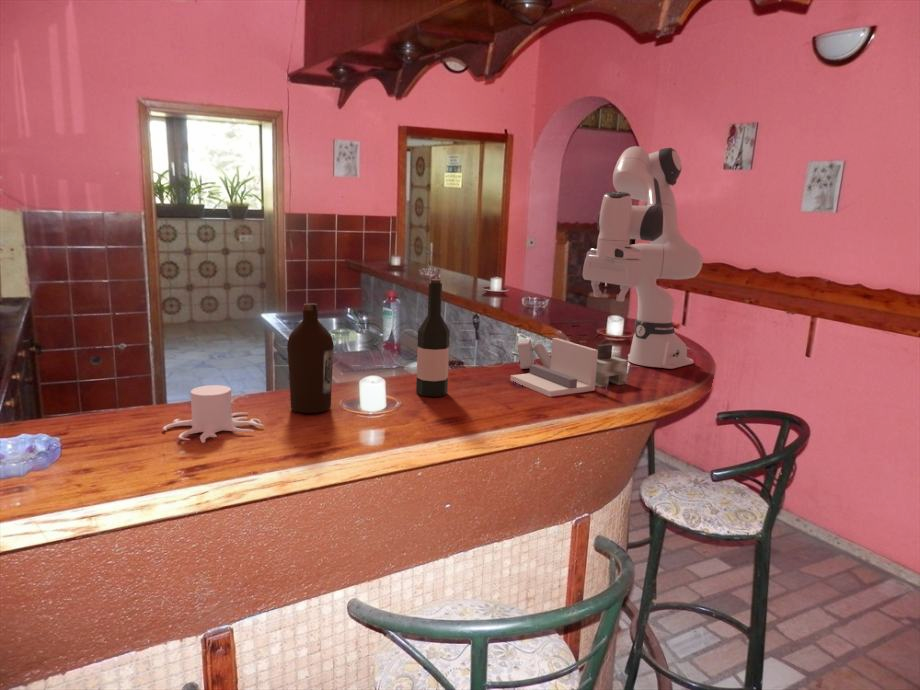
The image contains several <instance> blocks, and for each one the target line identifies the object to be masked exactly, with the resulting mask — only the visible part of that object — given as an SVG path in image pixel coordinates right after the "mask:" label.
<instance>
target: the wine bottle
mask: <svg viewBox="0 0 920 690" xmlns="http://www.w3.org/2000/svg"><path fill="white" fill-rule="evenodd" d="M442 293H443V282H441V279H438V278H431V279H430V282H428V295H427V296H428V299H427V301H428V304H427V306H428V307H427V316H426V317H425V319H424V320H423V322H422V324H421V325H420V327H419V328H418V330H417V353H416V354H417V356H416V357H417V358H416V384H415V385H416V386H415V387H416V389H415V390H416V392H415V393H416V394H418V395H420V396H423V397H429V398H430V397H431V398H435V397H442V396H445V395H446V394H447V393H448V386H449V385H448V384H449V383H448V382H449V363H450V361H449V358H450V357H449V356H450V355H449V354H450V329H449V327H448V326H447V324H446V321H445V319H444V318H443V316H442V298H443V297H442V296H443V294H442Z"/></svg>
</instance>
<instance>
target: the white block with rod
mask: <svg viewBox="0 0 920 690" xmlns="http://www.w3.org/2000/svg"><path fill="white" fill-rule="evenodd" d="M517 352H518V358H519V365H520V366H519V367H520V369H521V370H524V369H530V365H535V360H534V352H535V353H536V355H537V357H538V358H539V360H540V362H541V363H542V366H543V367H546V368H548V369H550V365H551V355H550V354H549V353H548V351H547V349H546V348H545V346H544V345H543V344H542V343H541V342H536V343H535V344H534V345H533V344H532V339H531V338H527V339H520V340H519V341H518V342H517Z"/></svg>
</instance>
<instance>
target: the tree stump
mask: <svg viewBox="0 0 920 690" xmlns="http://www.w3.org/2000/svg"><path fill="white" fill-rule="evenodd" d="M242 397H245V393H242V394H232V389H231V387H230V386H226V385H221V384H220V385H219V384H217V385H215V384H214V385H213V384H210V385H207V384H206V385H202V386H197V387H194V388H192V389H191V390H190V405H191V419H185V420H181V418H176V419H174V420H173V421H172V423H169V424H166V425H164V426H163V427H162V428H161V429H162V430H163V431H168V430H167V429H169V428H174V427H182V426H191V428H189V429H187V430H185V431H183V432H181V433H180V434H179V435H178V439H180V440H184V441H185V440H187V441H191V439H190V438H187V437H185V436H187V435H191V434H197V433H202V434H200V436H199V439H200V442H201V443H202V444H204V443H206V439H207V438H217V434H216V433H218V432H221V431H226V432H228V431H229V432H233V433H234V432H235V433H236V432H239V433H241V432H242V433H243V432H244V433H252V432H254V433H255V430H253V429H246V428H240V426H245V425H248V426H255V427H265V425H264V424H262V422H261V420H260V419H259V418H251V419H249V418H248V417H246V416H241V417H240V416H239V415H249V414H250V413H249V412H241V411H240V412H232V411H233V410H232V408H233V407H232V404H233V405H236V402H234V401H235V400H237V399H240V398H242ZM236 416H238V417H236ZM247 419H249V420H247ZM256 421H257V422H256ZM238 427H239V428H238Z"/></svg>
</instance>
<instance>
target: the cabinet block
mask: <svg viewBox="0 0 920 690" xmlns="http://www.w3.org/2000/svg"><path fill="white" fill-rule="evenodd" d="M595 349H596V350H598V357H597V368H596V380H595V387H598V388H605V387H609V383H611V384H615V385H617V386H618V385H619V386H620V385H626V383H627V376H628V375H627V374H628V365H629V364H628V363H629V361H628V359H624V358H621V357H617V356H613V355H612V354H613V344H611V343H605V344H604V343H602V344H596V345H595Z"/></svg>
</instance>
